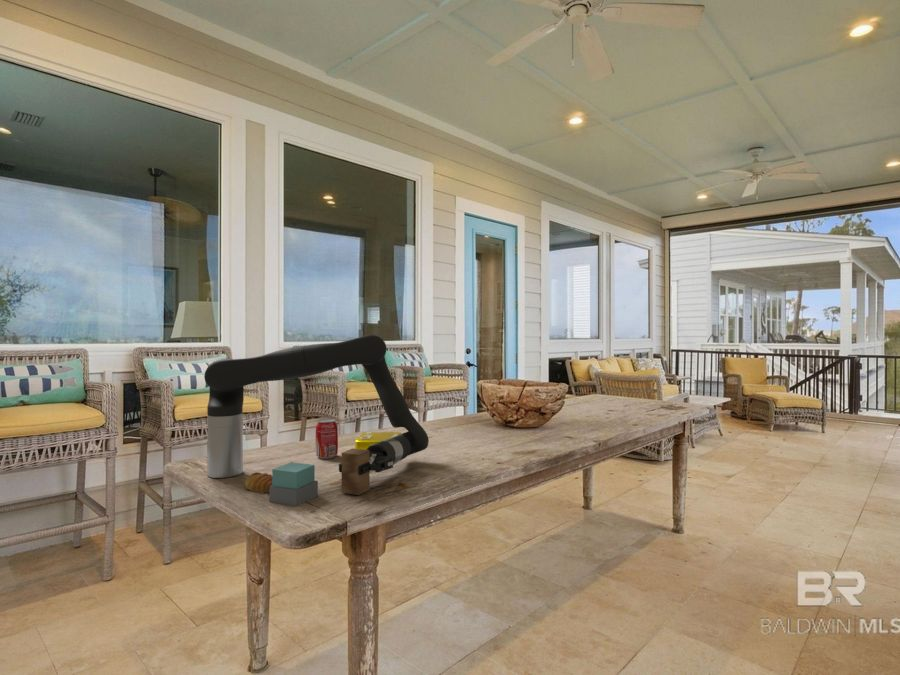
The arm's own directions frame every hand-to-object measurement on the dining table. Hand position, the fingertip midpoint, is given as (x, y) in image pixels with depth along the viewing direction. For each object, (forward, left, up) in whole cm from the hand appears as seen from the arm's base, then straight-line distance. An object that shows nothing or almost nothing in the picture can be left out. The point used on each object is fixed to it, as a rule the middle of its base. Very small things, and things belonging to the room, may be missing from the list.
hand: (349, 469), depth 122 cm
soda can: (-36, +22, -7) cm, 42 cm away
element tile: (-31, +42, -7) cm, 53 cm away
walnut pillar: (-1, +3, -6) cm, 7 cm away
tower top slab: (-10, -10, -3) cm, 14 cm away
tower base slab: (-9, -10, -7) cm, 15 cm away
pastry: (-23, -9, -7) cm, 26 cm away
